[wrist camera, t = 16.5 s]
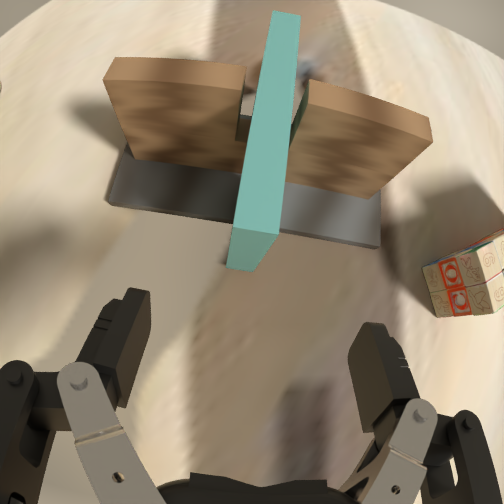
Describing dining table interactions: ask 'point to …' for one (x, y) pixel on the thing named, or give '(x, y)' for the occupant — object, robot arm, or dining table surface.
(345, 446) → the dining table surface
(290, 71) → the teal plate
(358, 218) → the halving stand
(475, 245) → the stack of blocks
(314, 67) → the dining table surface
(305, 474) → the dining table surface
